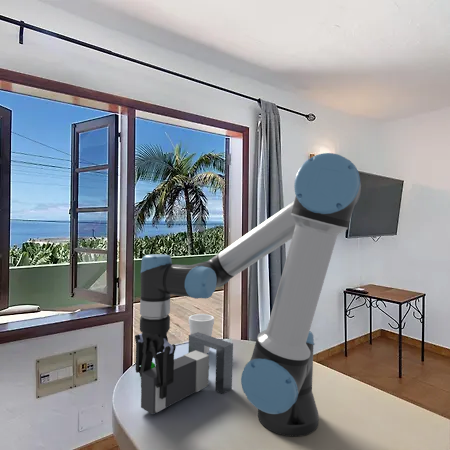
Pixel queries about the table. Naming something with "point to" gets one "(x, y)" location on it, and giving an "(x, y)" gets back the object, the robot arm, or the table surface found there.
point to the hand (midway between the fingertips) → (153, 405)
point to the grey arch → (222, 358)
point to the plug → (177, 380)
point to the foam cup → (201, 326)
